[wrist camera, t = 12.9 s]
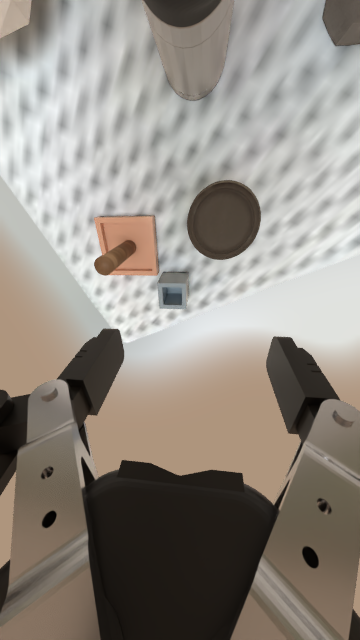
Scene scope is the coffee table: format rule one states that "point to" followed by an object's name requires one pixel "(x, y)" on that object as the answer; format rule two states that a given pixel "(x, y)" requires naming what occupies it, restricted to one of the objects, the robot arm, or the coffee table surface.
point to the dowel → (114, 257)
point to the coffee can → (224, 219)
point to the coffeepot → (343, 21)
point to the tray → (133, 229)
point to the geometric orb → (13, 15)
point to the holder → (173, 290)
